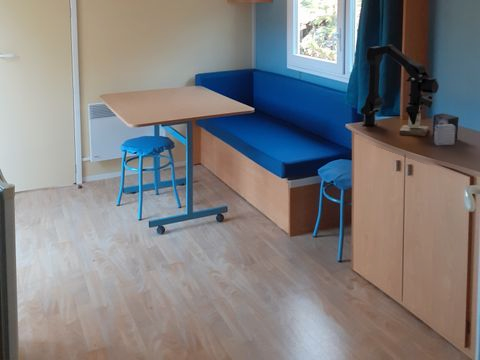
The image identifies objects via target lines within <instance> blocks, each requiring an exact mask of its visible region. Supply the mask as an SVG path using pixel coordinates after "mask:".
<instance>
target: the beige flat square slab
mask: <svg viewBox="0 0 480 360" xmlns="http://www.w3.org/2000/svg"><path fill="white" fill-rule="evenodd" d="M428 132H429V126H428V125H420V126H419V127H408V124H403V125H402V126H401V127H400V129H399V131H398V133H399V135H403V136H420V137H421V136H422V137H425V136H426V135H427V133H428Z"/></svg>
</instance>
